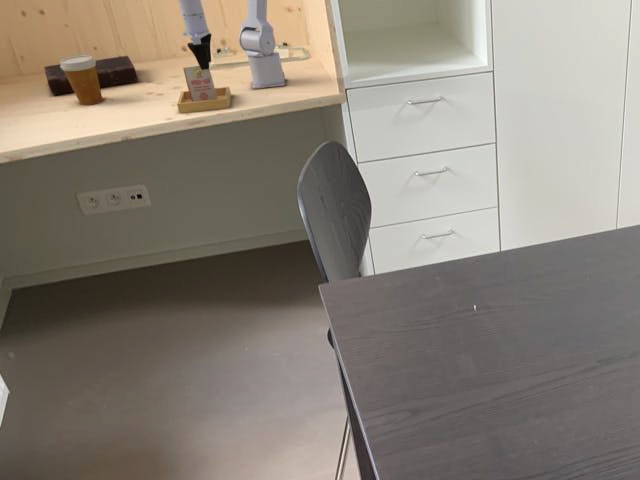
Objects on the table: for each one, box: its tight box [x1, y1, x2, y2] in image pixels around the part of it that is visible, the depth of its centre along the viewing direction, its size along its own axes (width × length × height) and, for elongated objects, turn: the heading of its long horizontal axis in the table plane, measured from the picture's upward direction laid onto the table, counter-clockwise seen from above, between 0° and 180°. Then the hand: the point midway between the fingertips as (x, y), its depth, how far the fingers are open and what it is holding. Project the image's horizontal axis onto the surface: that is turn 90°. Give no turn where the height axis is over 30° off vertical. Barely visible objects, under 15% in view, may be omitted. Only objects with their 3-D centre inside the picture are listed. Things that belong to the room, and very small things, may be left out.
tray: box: [176, 86, 232, 114], centre depth 227 cm, size 14×13×2 cm
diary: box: [43, 55, 139, 96], centre depth 249 cm, size 19×25×5 cm
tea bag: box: [182, 65, 217, 102], centre depth 224 cm, size 4×7×10 cm, turn 106°
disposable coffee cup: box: [60, 54, 103, 106], centre depth 230 cm, size 10×10×12 cm
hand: (206, 65), depth 222 cm, fingers open, 7 cm apart
